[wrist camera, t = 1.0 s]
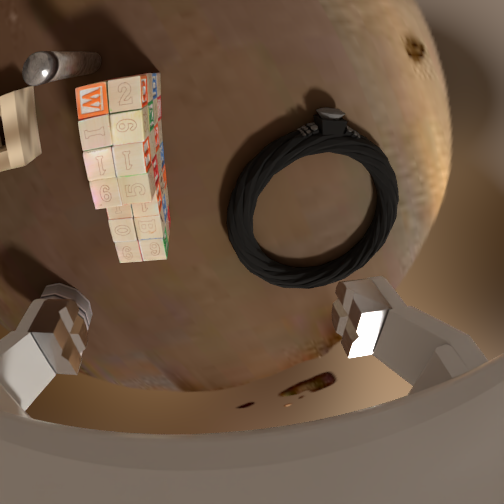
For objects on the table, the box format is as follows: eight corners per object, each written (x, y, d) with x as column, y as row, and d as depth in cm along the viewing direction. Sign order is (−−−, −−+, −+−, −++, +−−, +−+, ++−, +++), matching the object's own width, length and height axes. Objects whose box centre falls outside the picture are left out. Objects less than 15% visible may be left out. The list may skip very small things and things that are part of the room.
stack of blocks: (172, 221, 42) (165, 277, 33) (131, 225, 41) (113, 280, 32) (160, 71, 30) (140, 74, 20) (111, 78, 29) (73, 87, 19)
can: (89, 330, 53) (78, 379, 43) (41, 313, 49) (23, 360, 39) (96, 294, 48) (81, 347, 38) (41, 274, 43) (17, 323, 34)
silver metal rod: (79, 54, 26) (21, 57, 15) (101, 49, 26) (50, 47, 15) (80, 76, 28) (23, 90, 16) (102, 72, 28) (51, 81, 17)
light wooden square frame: (-16, 104, 25) (-36, 112, 21) (33, 85, 26) (14, 91, 22) (-6, 165, 30) (-23, 178, 26) (41, 153, 32) (25, 165, 28)
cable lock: (232, 302, 49) (222, 111, 31) (230, 286, 52) (220, 106, 34) (381, 282, 52) (421, 122, 34) (372, 269, 55) (406, 115, 37)
